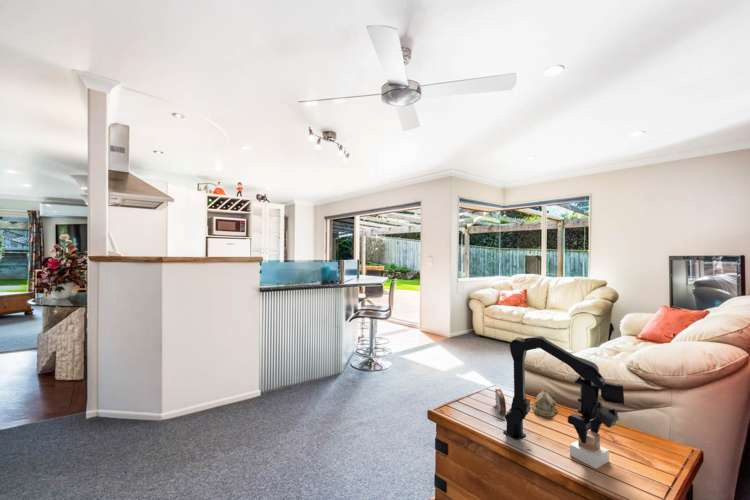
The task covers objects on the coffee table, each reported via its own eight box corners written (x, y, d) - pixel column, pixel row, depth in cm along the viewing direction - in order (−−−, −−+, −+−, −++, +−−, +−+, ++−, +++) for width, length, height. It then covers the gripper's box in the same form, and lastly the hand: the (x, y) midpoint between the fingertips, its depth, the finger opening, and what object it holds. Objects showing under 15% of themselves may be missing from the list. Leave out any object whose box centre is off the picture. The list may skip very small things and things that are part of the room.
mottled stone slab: (506, 417, 150) (506, 398, 150) (499, 416, 151) (499, 398, 151) (500, 403, 165) (500, 386, 165) (494, 402, 165) (494, 386, 166)
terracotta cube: (593, 452, 116) (593, 438, 117) (578, 445, 121) (578, 431, 121) (600, 448, 119) (600, 434, 119) (585, 441, 123) (585, 428, 123)
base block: (596, 468, 114) (596, 457, 114) (569, 455, 121) (570, 444, 121) (608, 461, 118) (608, 449, 118) (582, 448, 126) (582, 438, 126)
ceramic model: (532, 402, 167) (533, 383, 167) (557, 408, 161) (558, 387, 162) (530, 413, 155) (531, 392, 155) (557, 419, 149) (557, 397, 149)
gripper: (600, 412, 109) (600, 459, 108) (626, 400, 118) (626, 444, 118) (566, 399, 118) (566, 442, 118) (593, 389, 128) (593, 430, 127)
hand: (589, 440), depth 120 cm, fingers open, 7 cm apart
